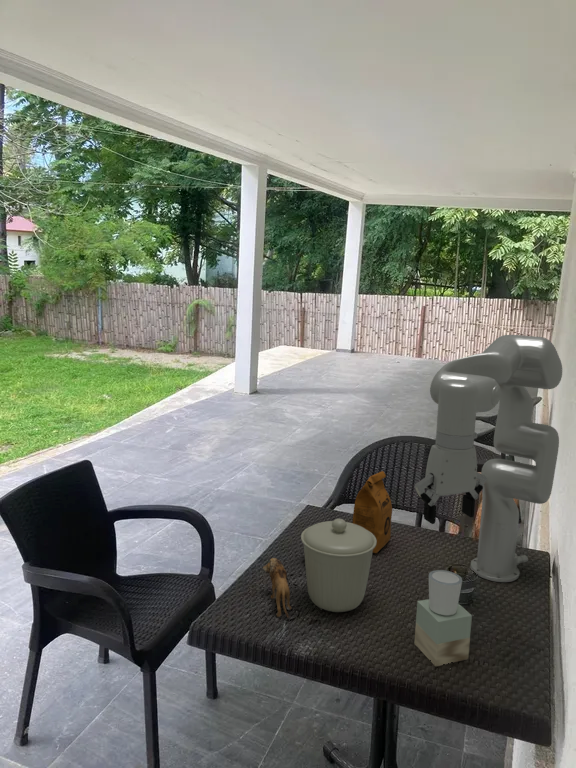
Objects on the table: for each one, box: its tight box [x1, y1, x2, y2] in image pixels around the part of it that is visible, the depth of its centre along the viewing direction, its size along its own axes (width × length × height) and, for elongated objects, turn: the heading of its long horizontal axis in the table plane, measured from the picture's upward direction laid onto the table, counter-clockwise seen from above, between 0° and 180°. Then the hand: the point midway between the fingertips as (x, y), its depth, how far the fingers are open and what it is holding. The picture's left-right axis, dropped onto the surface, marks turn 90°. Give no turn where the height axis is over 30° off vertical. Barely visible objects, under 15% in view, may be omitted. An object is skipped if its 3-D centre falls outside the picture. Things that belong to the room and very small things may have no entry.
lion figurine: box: [262, 557, 292, 620], centre depth 138 cm, size 15×5×9 cm, turn 20°
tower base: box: [413, 622, 471, 667], centre depth 122 cm, size 8×8×5 cm
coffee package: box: [352, 470, 393, 554], centre depth 169 cm, size 10×12×22 cm
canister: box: [300, 518, 377, 613], centre depth 139 cm, size 18×18×21 cm
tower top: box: [415, 598, 473, 644], centre depth 122 cm, size 8×8×5 cm
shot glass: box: [428, 569, 463, 615], centre depth 120 cm, size 7×7×7 cm
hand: (448, 518), depth 121 cm, fingers open, 9 cm apart
